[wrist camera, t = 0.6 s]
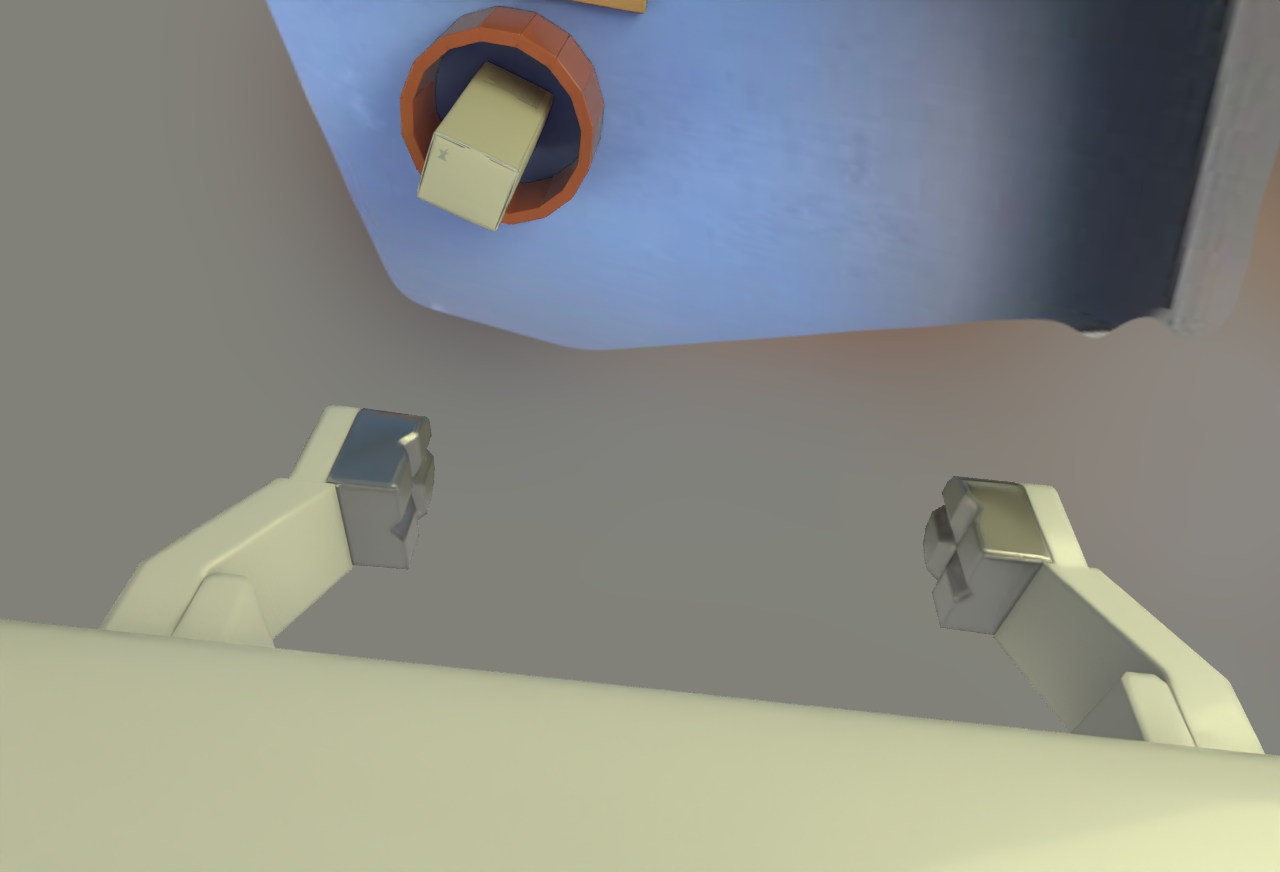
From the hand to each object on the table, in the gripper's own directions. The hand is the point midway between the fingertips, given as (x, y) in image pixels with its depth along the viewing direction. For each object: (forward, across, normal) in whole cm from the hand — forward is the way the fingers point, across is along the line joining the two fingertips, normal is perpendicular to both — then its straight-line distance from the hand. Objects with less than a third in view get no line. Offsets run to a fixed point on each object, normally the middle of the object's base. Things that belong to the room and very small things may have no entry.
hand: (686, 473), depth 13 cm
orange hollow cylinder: (+47, +11, +14) cm, 50 cm away
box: (+47, +11, +14) cm, 50 cm away
